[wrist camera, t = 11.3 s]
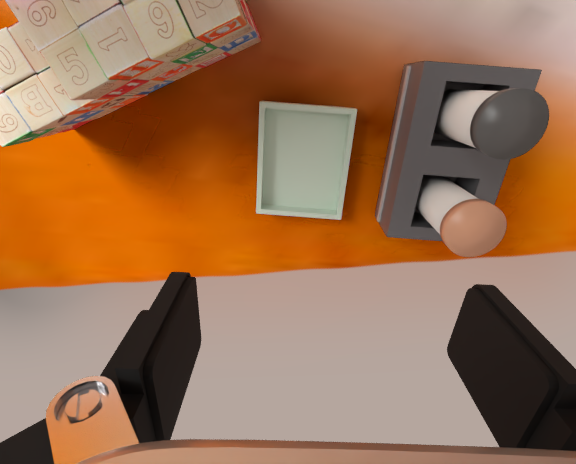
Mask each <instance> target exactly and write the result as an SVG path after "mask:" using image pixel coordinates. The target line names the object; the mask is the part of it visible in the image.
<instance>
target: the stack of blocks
mask: <svg viewBox="0 0 576 464" xmlns="http://www.w3.org/2000/svg"><path fill="white" fill-rule="evenodd" d="M5 1H6V2H7V4H8V5H9V7H10V8H11V10H12V12H13V13H14V15H15V16H16V18H17V19H18V22H16V23H15V24H13V25H11V26H9V27H5V28H3V29H1V30H0V145H1V146H2V147H5V146H10V145H15V144H19V143H23V142H28V141H31V140H33V139H35V138H40V137H45V136H49V135H53V134H56V133H60V132H66V131H69V130H74V129H76V128H78V127H80V126H82V125H84V124H86V123H88V122H90V121H92V120H94V119H97V118H100V117H102V116H104V115H107V114H109V113H111V112H113V111H115V110H117V109H119V108H121V107H123V106H125V105H128V104H130V103H132V102H134V101H136V100H138V99H140V98H142V97H144V96H147V95H148V93H151V92H153V91H155V90H157V89H159V88H161V87H163V86H166V85H168V84H170V83H172V82H174V81H175V80H178V79H180V78H182V77H184V76H186V75H188V74H190V73H192V72H194V71H196V70H199V69H201V68H205V67H207V66H209V65H211V64H213V63H215V62H217V61H220V60H222V59H224V58H226V57H228V56H230V55H232V54H235V53H237V52H240V51H242V50H244V49H246V48H248V47H250V46H252V45H255V44H257V43H259V42H260V41H261V38H260V35H259V33H258V30H257V27H256V25H255V22H254V19H253V17H252V14H251V12H250V9H249V6H248V5H247V3H246V0H5Z"/></svg>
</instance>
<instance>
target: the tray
mask: <svg viewBox="0 0 576 464" xmlns="http://www.w3.org/2000/svg"><path fill="white" fill-rule="evenodd" d="M356 115H357V109H356V108H353V107H340V106H326V105H313V104H300V103H287V102H274V101H260V102H259V133H258V166H257V199H256V213H258V214H271V215H284V216H297V217H310V218H324V219H337V220H341V216H342V210H343V203H344V196H345V189H346V183H347V176H348V169H349V162H350V156H351V149H352V142H353V135H354V129H355V122H356Z"/></svg>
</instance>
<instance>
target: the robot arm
mask: <svg viewBox="0 0 576 464" xmlns="http://www.w3.org/2000/svg"><path fill="white" fill-rule="evenodd" d="M200 345H201V330H200V319H199V308H198V297H197V286H196V278H195V277H191V276H190V273H186V272H171V274H170V275H169V277H168V279H167V280H166V282H165V284H164V285H163V287H162V289H161V290H160V292H159V294H158V296H157V297H156V299H155V301H154V302H153V304H152V306H151V308H150V309H149V310H143V311H141V312H140V313H139V314H138V316H137V317H136V319H135V321H134V322H133V324H132V325H131V327H130V329H129V330H128V332H127V333H126V335H125V337H124V338H123V340H122V341H121V343H120V345H119V346H118V348H117V350H116V351H115V353H114V354H113V356H112V358H111V359H110V361H109V362H108V364H107V366H106V367H105V369H104V370H103V372H102V374H101V375H100V376H91V377H85V378H82V379H80V380H77V381H75V382H73V383H71V384H70V385H68V386H66V387H65V388H63V389H62V390H61V391H60V392H59V393H57V394H56V396H55V397H54V398H53V399H52V401H51V402H50V404H49V406H48V408H47V410H46V418H45V419H43V420H41V421H39V422H38V423H36V424H34V425H32V426H30V427H28V428H27V429H25V430H23V431H21V432H19V433H17V434H16V435H14V436H12V437H10V438H8V439H6V440H5V441H3V442H1V443H0V464H576V369H575V368H574V367H573V366H572V365H571V364H570V363H569V362H568V361H567V360H566V359H565V358H564V357H563V356H562V355H561V353H560V352H559V351H558V350H557V349H556V348H555V347H554V346H553V345H552V344H550V342H549V341H548V340H547V339H546V338H545V337H544V336H543V335H542V334H541V333H540V332H539V331H538V330H537V329H536V328H535V327H534V326H533V325H532V323H531V322H530V321H529V320H528V319H527V318H526V317H525V316H524V315H523V314H522V313H521V312H520V311H519V310H518V309H517V308H516V307H515V306H514V305H513V304H512V303H511V302H510V301H509V300H508V299H507V298H506V297H505V296H504V295H503V294H502V293H501V292H500V291H499V289H498V288H496V287H495V286H493V285H478V284H476V285H474V286H473V287H472V288H470V289H468V291H467V292H466V295H465V298H464V301H463V304H462V307H461V310H460V312H459V315H458V318H457V321H456V324H455V327H454V329H453V332H452V335H451V338H450V341H449V344H448V347H447V352H448V356H449V358H450V360H451V362H452V363H453V365H454V367H455V369H456V370H457V372H458V374H459V376H460V378H461V379H462V381H463V382H464V385H465V386H466V388H467V390H468V392H469V393H470V395H471V397H472V399H473V400H474V402H475V404H476V406H477V407H478V409H479V411H480V413H481V415H482V416H483V418H484V420H485V422H486V424H487V425H488V427H489V429H490V431H491V432H492V434H493V436H494V438H495V440H496V441H497V443H498V445H499V447H475V446H448V445H447V446H445V445H418V444H388V443H355V442H354V443H353V442H352V443H351V442H319V441H279V440H278V441H277V440H222V439H221V440H220V439H219V440H218V439H217V440H216V439H215V440H212V439H211V440H210V439H186V440H170V439H171V436H172V432H173V429H174V426H175V423H176V420H177V417H178V414H179V411H180V408H181V405H182V401H183V398H184V395H185V392H186V389H187V386H188V383H189V380H190V377H191V374H192V370H193V368H194V364H195V361H196V358H197V355H198V352H199V349H200Z"/></svg>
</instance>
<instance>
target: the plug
mask: <svg viewBox="0 0 576 464" xmlns="http://www.w3.org/2000/svg"><path fill="white" fill-rule="evenodd" d="M415 208H416V209H417V210H418V211H419V212H420V214H421V215H422V216H423V217H424V218H425V219H426V220H427V221H428V222H429V223H430V224H431V225H432V227H433V228H434V229H435V230H436V231H437V232H438V233H439V234H440V236H441V239H442V241H443V242H444V243H445V244H446V246H447V247H448V248H449V249H450V250H451V251H452V252H453V253H455V254H457V255H459V256H463V257H476V256H480V255H483V254H485V253H487V252H489V251H491V250H492V249H493V248H495V247H496V246H497V245H498V244H499V243H500V241H501V240H502V238H503V237H504V234H505V232H506V227H507V222H506V218H505V215H504V213H503V212H502V211H501V210H500V209H499V208H497V207H496V206H494V205H493V204H491V203H490V202H488V201H485V200H482V199H478V198H477V197H475V196H473V195H472V194H470V193H469V192H467V191H466V190H464V189H463V188H461V187H460V186H458V185H456V184H455V183H453V182H452V181H450V180H449V179H447V178H446V177H444V176H435V175H423V178H422V182H421V186H420V190H419V194H418V198H417V203H416V207H415Z"/></svg>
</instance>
